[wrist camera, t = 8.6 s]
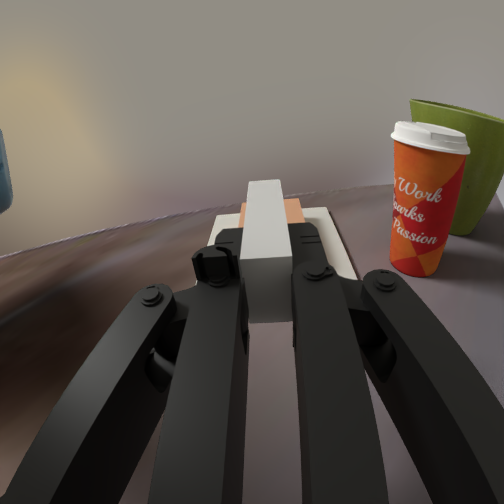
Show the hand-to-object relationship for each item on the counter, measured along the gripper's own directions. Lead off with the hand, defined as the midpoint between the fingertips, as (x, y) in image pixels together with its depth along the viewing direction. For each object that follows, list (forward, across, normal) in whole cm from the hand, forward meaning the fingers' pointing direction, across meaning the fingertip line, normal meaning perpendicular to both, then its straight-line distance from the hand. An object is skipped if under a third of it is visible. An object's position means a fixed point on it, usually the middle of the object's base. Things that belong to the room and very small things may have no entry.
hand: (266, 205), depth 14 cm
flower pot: (+17, +25, -11) cm, 32 cm away
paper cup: (+9, +15, -11) cm, 21 cm away
